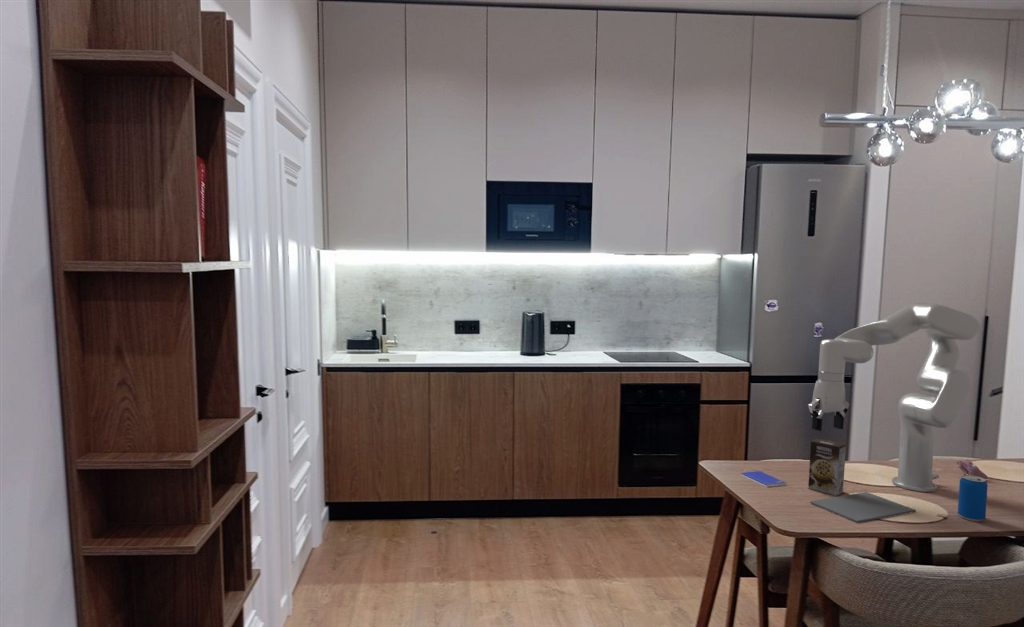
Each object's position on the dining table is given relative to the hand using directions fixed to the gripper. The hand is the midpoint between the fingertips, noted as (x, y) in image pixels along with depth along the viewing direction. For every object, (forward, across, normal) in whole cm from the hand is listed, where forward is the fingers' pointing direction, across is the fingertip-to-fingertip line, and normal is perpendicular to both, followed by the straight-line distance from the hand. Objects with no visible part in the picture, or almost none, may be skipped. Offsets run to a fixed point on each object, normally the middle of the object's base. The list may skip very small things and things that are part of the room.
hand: (827, 429), depth 197 cm
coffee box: (+21, -1, 0) cm, 21 cm away
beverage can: (+20, -22, +32) cm, 44 cm away
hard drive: (+22, +11, -15) cm, 28 cm away
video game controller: (+20, -64, +7) cm, 67 cm away
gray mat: (+20, +2, +15) cm, 25 cm away
